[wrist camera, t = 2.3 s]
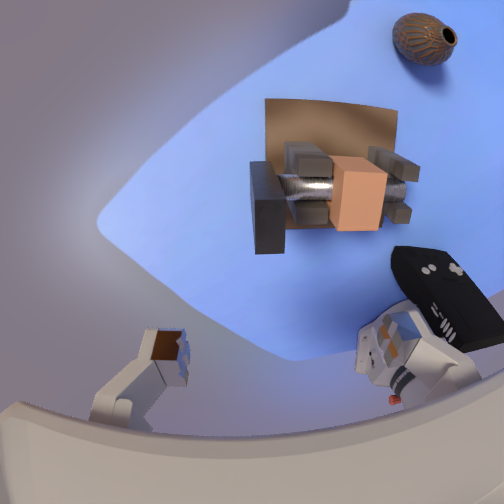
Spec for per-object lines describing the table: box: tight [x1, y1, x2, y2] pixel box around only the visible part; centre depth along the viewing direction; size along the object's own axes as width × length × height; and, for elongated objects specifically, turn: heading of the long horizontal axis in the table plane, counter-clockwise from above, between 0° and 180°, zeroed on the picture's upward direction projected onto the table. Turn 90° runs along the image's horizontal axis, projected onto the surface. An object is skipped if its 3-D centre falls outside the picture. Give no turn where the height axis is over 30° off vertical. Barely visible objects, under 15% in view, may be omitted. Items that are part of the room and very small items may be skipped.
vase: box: [392, 13, 457, 66], centre depth 19 cm, size 7×7×9 cm
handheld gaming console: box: [391, 246, 504, 353], centre depth 32 cm, size 12×5×20 cm, turn 84°
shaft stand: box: [265, 99, 420, 229], centre depth 28 cm, size 16×16×10 cm
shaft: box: [250, 161, 406, 255], centre depth 23 cm, size 4×15×10 cm, turn 91°
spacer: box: [323, 155, 388, 231], centre depth 25 cm, size 5×4×6 cm
